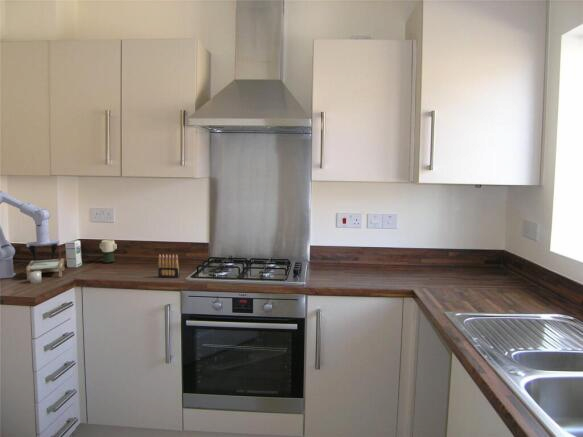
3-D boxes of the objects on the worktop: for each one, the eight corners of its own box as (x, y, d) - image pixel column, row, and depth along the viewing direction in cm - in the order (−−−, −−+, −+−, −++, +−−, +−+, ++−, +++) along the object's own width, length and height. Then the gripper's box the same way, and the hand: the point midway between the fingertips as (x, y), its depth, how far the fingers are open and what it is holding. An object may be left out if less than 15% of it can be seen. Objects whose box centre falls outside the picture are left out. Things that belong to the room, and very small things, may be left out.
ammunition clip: (158, 277, 220) (157, 254, 218) (159, 276, 221) (158, 253, 220) (178, 277, 218) (177, 254, 217) (179, 277, 220) (179, 253, 219)
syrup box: (77, 267, 241) (75, 241, 239) (66, 267, 241) (65, 241, 240) (82, 265, 247) (80, 240, 245) (72, 265, 247) (70, 240, 245)
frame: (27, 280, 215) (26, 267, 214) (32, 272, 229) (31, 260, 228) (61, 276, 220) (60, 264, 220) (64, 270, 235) (63, 258, 234)
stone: (29, 283, 208) (28, 273, 207) (31, 281, 212) (30, 271, 211) (40, 282, 210) (40, 272, 209) (42, 280, 214) (41, 270, 213)
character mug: (120, 261, 256) (119, 239, 255) (113, 264, 249) (112, 242, 248) (104, 260, 258) (103, 239, 257) (96, 263, 251) (95, 241, 250)
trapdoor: (34, 264, 227) (34, 260, 227) (60, 262, 232) (60, 258, 232) (30, 269, 215) (30, 265, 215) (57, 267, 220) (57, 263, 220)
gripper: (24, 235, 212) (26, 262, 214) (58, 233, 218) (59, 260, 219) (27, 233, 218) (29, 259, 220) (59, 231, 224) (61, 257, 226)
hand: (44, 259), depth 220 cm, fingers open, 7 cm apart
